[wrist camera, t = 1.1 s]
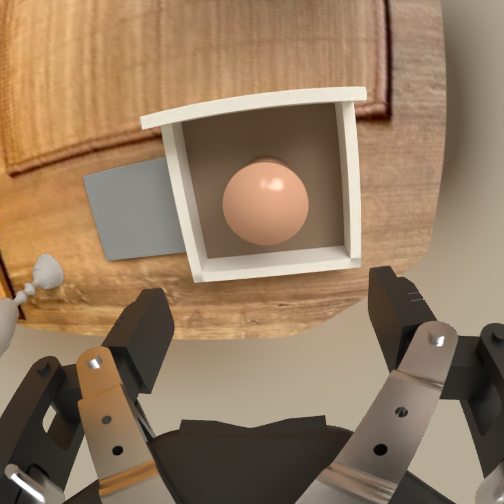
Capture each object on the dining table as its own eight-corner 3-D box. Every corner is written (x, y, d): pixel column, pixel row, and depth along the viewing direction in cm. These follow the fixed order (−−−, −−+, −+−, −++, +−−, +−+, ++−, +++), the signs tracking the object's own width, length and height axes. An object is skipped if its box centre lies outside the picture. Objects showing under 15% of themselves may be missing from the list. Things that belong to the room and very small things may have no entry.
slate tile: (87, 174, 30) (83, 176, 30) (170, 155, 29) (166, 156, 28) (110, 256, 35) (107, 260, 34) (189, 248, 33) (187, 252, 33)
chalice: (44, 237, 34) (-51, 314, 18) (77, 274, 36) (-6, 367, 20) (25, 267, 36) (-55, 342, 20) (56, 301, 38) (-15, 386, 22)
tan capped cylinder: (229, 155, 28) (215, 169, 22) (296, 147, 27) (304, 158, 21) (239, 218, 31) (230, 249, 24) (303, 212, 30) (311, 240, 24)
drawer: (172, 114, 28) (140, 116, 20) (341, 92, 26) (365, 86, 18) (202, 263, 34) (184, 306, 27) (351, 249, 32) (371, 289, 25)
